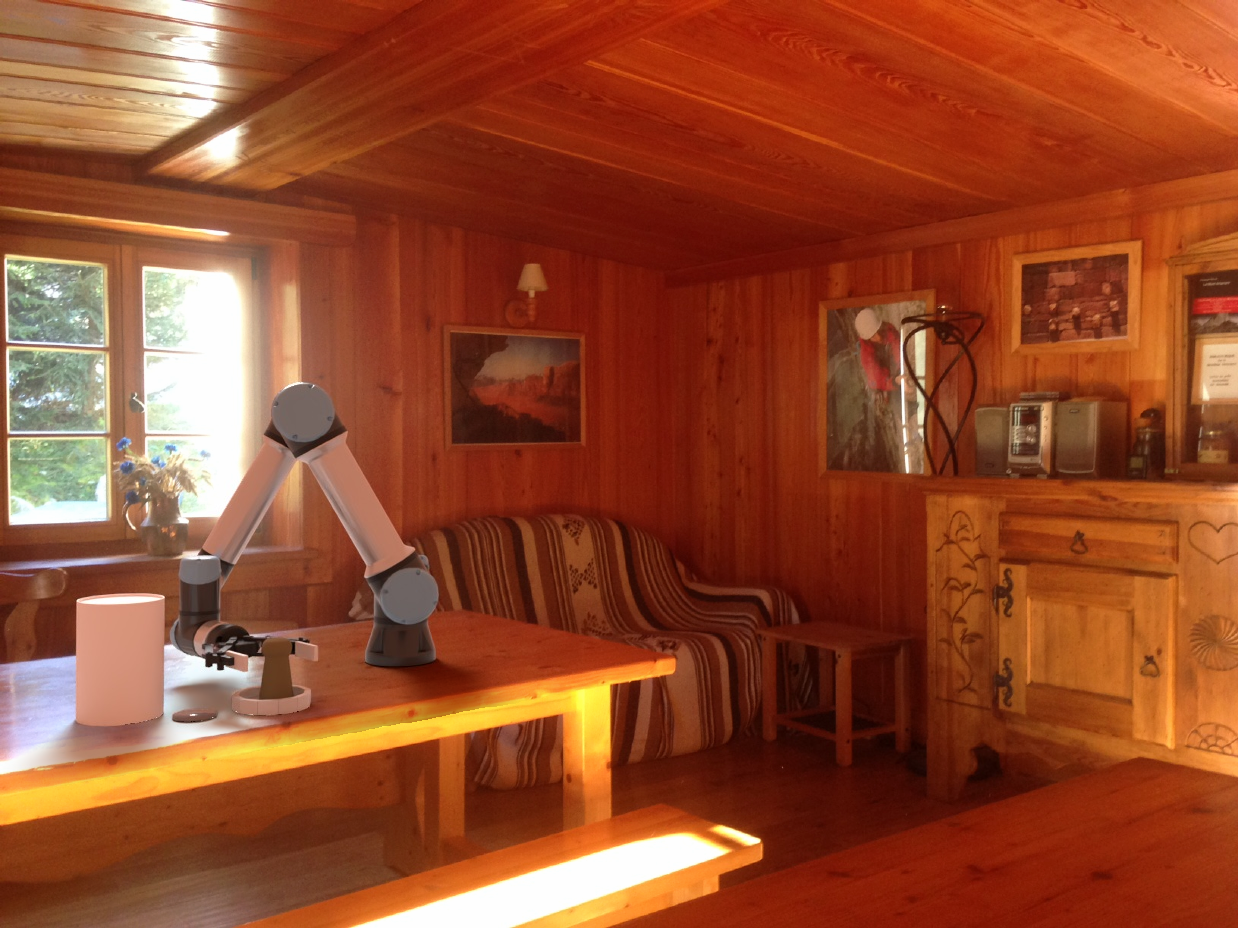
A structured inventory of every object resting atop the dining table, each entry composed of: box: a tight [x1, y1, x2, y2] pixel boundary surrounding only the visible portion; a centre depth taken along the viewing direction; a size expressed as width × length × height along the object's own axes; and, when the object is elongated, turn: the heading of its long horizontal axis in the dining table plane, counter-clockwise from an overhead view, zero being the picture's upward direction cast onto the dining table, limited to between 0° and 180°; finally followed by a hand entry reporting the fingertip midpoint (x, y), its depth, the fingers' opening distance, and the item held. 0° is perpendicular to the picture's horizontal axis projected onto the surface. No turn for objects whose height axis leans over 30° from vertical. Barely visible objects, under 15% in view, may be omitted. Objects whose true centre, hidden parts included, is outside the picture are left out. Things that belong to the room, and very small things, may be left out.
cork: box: [259, 636, 294, 700], centre depth 186 cm, size 6×6×11 cm
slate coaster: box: [171, 708, 218, 723], centre depth 177 cm, size 7×7×1 cm
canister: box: [75, 593, 166, 727], centre depth 177 cm, size 14×14×20 cm
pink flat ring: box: [231, 684, 312, 716], centre depth 185 cm, size 13×13×2 cm
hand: (282, 658), depth 183 cm, fingers open, 13 cm apart
